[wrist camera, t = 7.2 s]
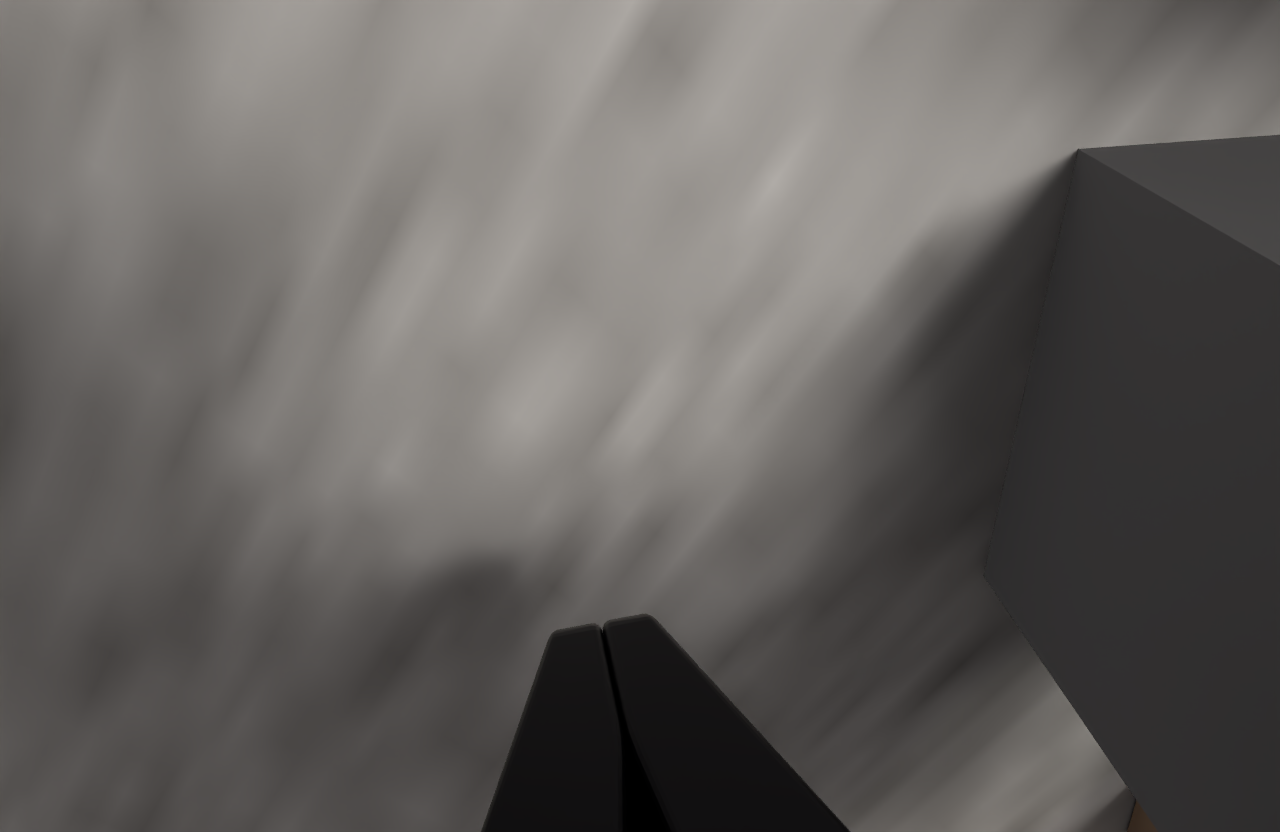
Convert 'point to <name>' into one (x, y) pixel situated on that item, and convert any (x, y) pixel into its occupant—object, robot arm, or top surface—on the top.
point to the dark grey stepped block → (1159, 476)
